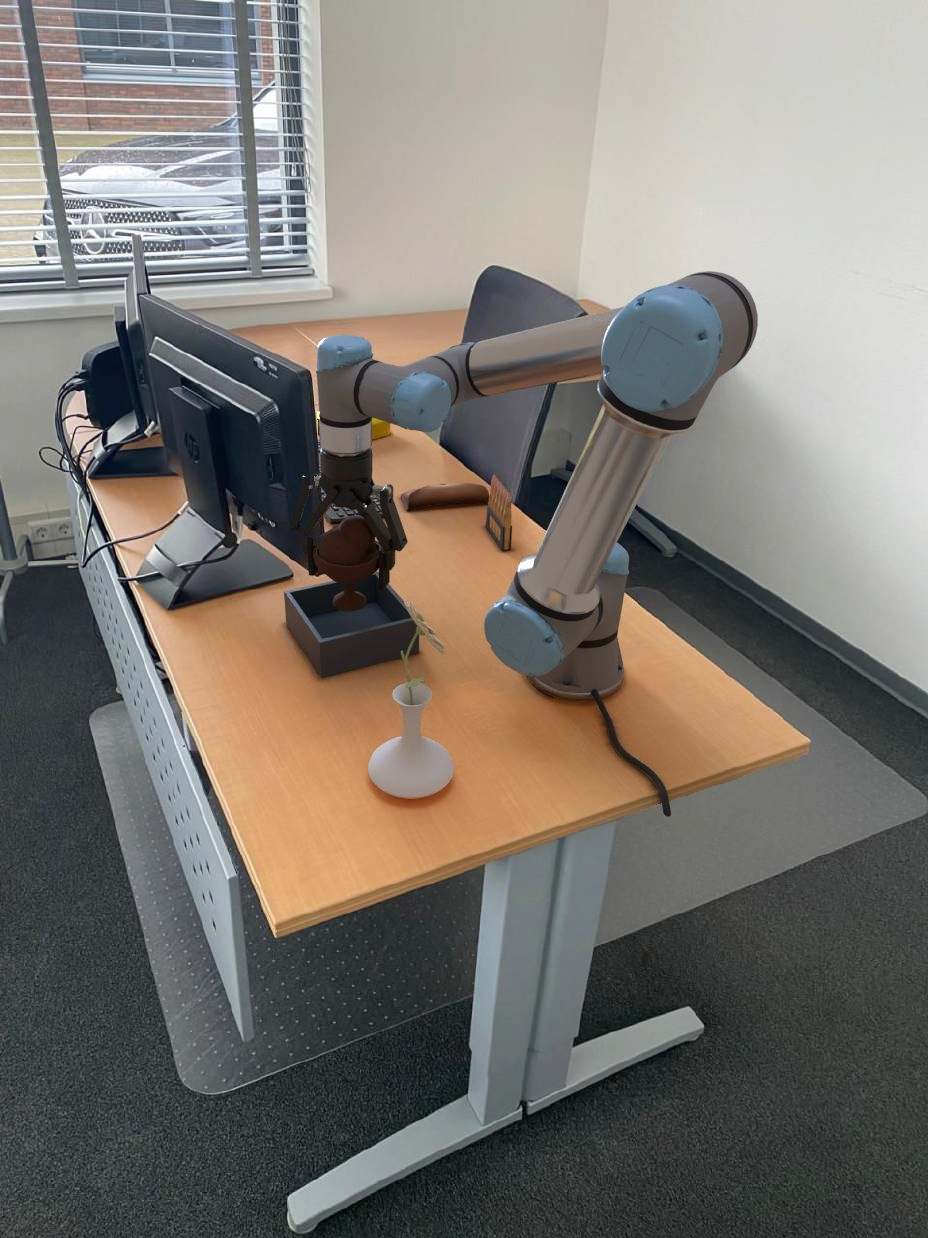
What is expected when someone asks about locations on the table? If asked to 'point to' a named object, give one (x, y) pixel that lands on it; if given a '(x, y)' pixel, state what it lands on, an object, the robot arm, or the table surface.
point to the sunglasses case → (444, 495)
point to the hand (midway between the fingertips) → (349, 578)
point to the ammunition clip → (499, 515)
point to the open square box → (349, 626)
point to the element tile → (374, 428)
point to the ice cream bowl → (348, 559)
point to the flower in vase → (412, 737)
